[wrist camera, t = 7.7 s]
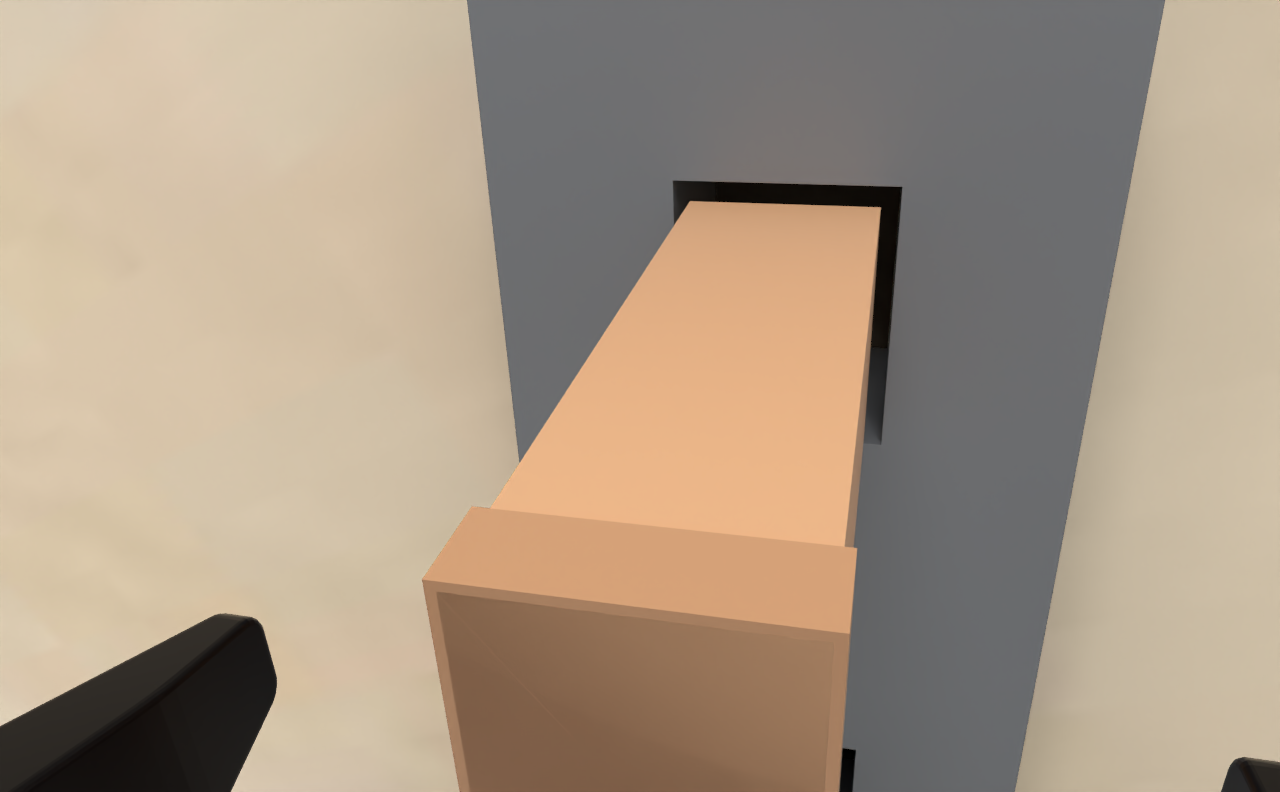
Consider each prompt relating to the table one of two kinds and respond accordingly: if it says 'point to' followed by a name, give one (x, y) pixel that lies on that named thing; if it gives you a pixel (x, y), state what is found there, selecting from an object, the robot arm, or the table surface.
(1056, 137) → the block
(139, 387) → the table surface
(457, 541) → the terracotta plug
